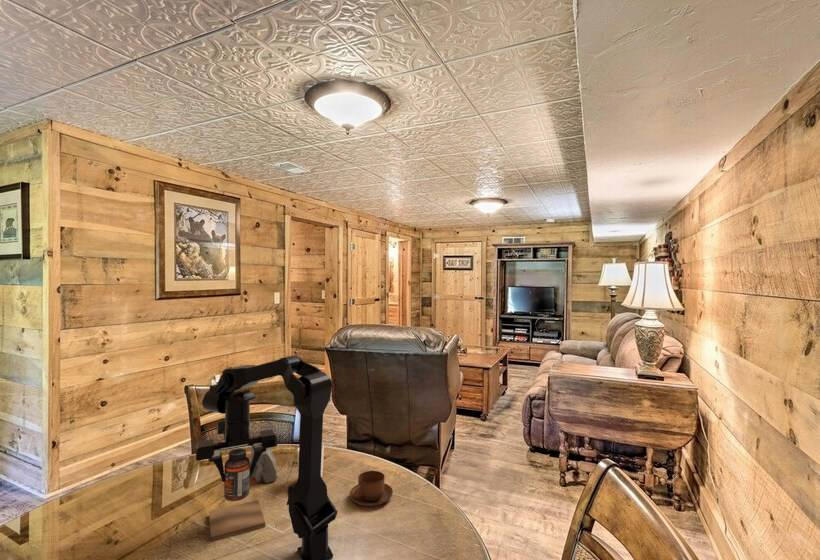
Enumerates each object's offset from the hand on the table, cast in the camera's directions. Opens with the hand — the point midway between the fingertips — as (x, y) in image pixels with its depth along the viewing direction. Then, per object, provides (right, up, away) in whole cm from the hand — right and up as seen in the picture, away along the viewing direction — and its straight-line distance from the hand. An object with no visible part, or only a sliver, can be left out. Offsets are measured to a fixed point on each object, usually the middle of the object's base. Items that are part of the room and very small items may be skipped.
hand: (237, 478), depth 102 cm
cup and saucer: (+33, -12, +11) cm, 37 cm away
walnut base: (0, -11, 0) cm, 11 cm away
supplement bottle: (0, -5, 0) cm, 5 cm away
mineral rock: (-1, -12, +25) cm, 28 cm away
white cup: (+13, -11, +21) cm, 27 cm away
